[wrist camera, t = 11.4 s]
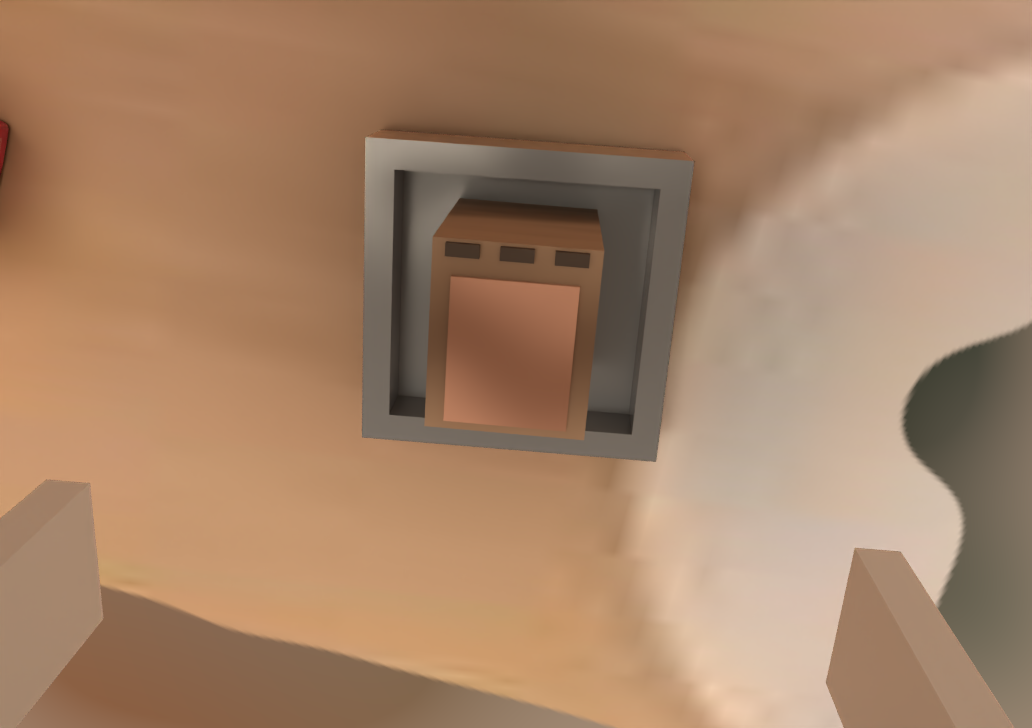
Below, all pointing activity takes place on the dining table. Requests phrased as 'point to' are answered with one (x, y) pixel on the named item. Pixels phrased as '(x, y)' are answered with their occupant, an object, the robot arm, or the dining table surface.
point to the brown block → (513, 318)
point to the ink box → (3, 142)
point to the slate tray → (530, 180)
